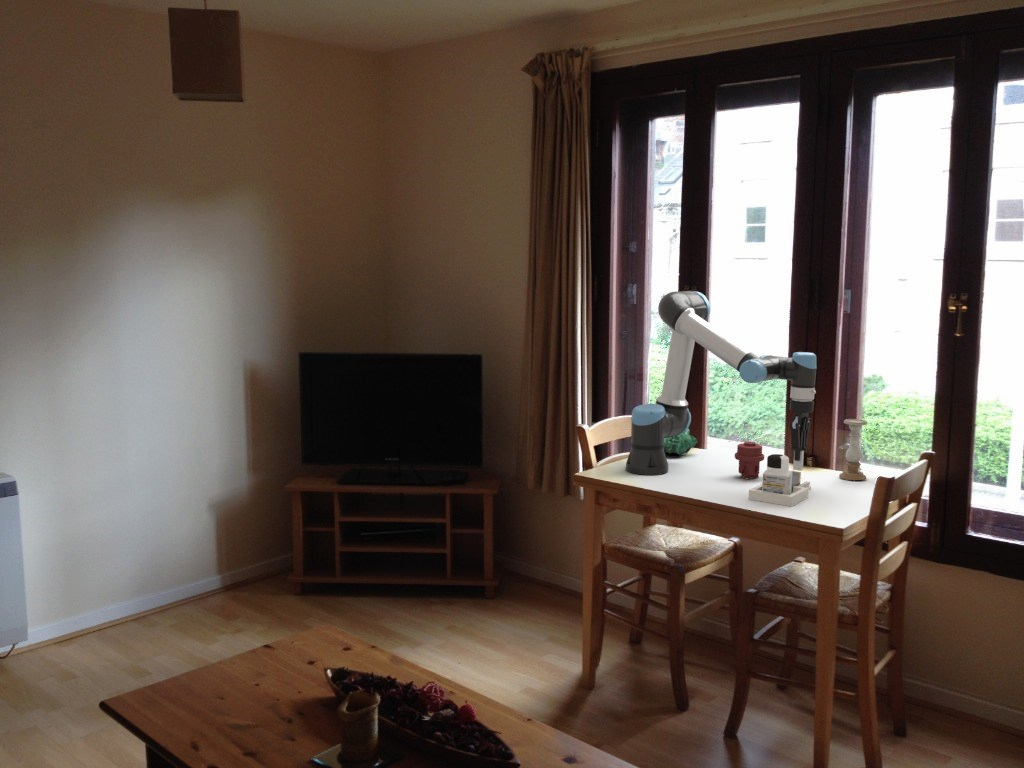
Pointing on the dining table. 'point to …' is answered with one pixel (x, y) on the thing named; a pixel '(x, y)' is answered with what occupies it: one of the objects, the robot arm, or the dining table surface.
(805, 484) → the dock socket
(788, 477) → the container
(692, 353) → the robot arm
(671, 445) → the mineral
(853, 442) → the candle holder
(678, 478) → the dining table surface
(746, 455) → the mechanical component
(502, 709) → the dining table surface
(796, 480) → the grey rectangular block
